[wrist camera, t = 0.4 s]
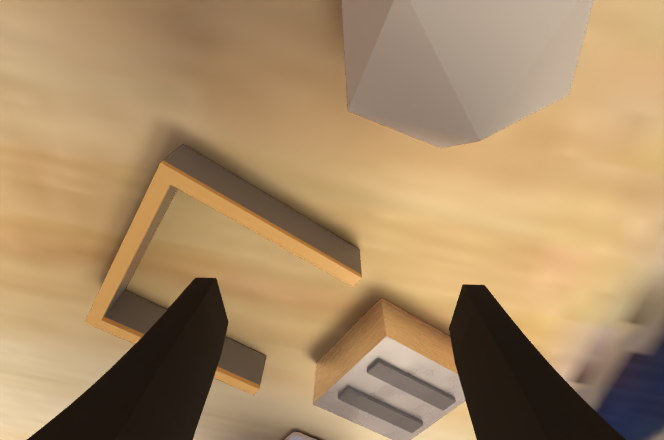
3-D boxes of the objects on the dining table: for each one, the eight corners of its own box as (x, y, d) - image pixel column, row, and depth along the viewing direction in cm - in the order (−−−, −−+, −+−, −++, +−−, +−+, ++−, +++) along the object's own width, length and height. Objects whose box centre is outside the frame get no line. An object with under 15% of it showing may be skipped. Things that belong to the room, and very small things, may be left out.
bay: (261, 361, 28) (253, 394, 26) (109, 292, 25) (84, 322, 23) (359, 249, 23) (361, 278, 20) (182, 144, 20) (160, 162, 17)
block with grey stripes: (397, 398, 30) (404, 448, 27) (316, 359, 28) (312, 408, 25) (466, 343, 27) (484, 392, 24) (380, 294, 25) (386, 340, 21)
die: (550, -92, 15) (510, -351, 7) (622, 103, 15) (661, 50, 7) (383, 24, 20) (250, -56, 12) (434, 174, 20) (332, 190, 12)
